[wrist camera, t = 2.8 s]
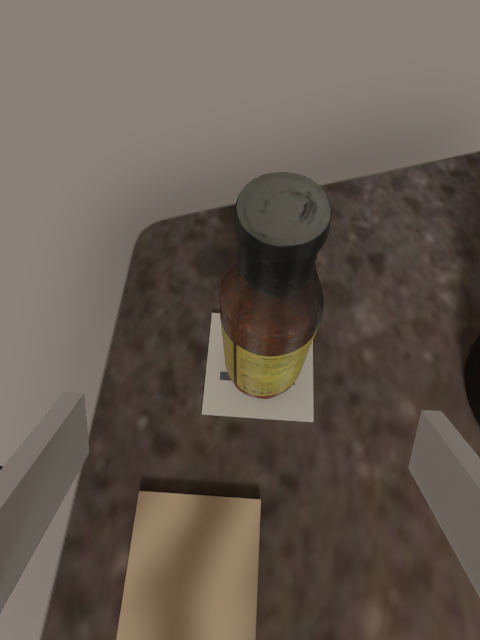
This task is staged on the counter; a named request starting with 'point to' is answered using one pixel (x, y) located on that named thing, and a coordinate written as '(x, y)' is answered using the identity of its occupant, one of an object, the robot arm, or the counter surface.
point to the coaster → (192, 569)
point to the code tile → (234, 403)
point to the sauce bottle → (273, 282)
